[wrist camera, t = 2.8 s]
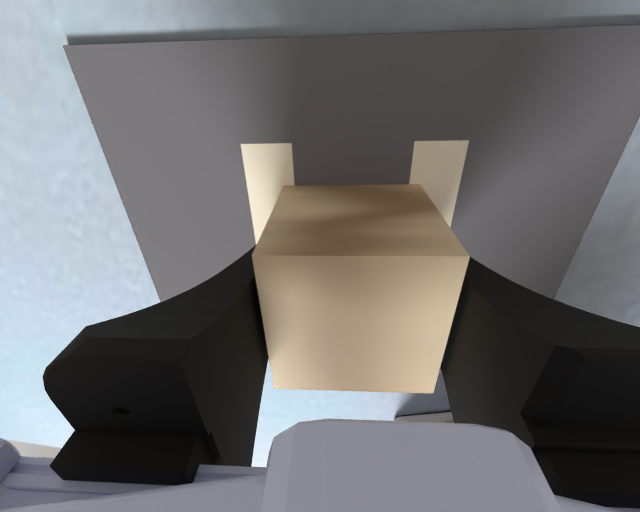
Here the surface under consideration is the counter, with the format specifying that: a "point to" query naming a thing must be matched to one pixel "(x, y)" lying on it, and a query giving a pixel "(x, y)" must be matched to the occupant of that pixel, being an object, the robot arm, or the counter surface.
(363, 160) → the letter mat
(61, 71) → the counter surface
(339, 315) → the oak block
